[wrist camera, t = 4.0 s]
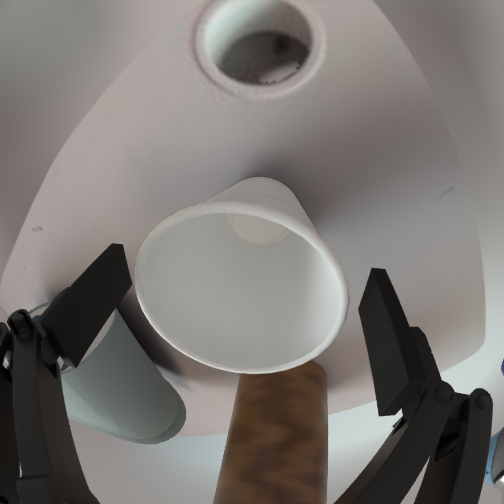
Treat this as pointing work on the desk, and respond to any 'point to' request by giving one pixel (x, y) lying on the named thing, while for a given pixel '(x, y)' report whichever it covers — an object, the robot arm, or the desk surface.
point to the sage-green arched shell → (120, 388)
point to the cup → (243, 281)
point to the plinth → (277, 439)
